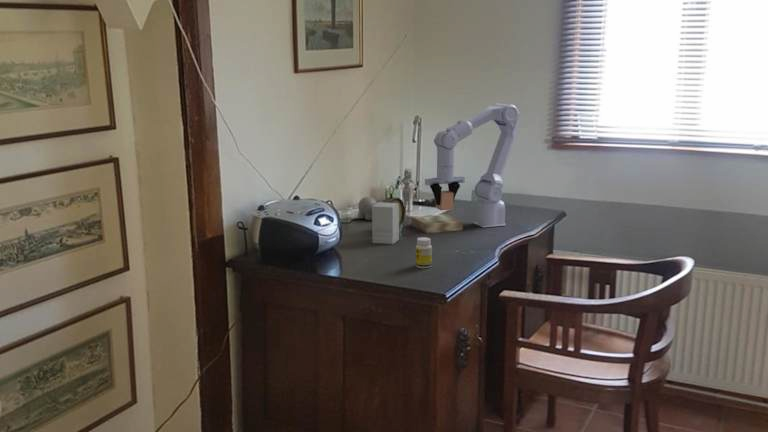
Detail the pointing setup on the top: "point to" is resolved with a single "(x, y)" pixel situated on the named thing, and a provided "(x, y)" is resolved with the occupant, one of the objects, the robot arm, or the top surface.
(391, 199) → the alarm clock
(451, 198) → the block
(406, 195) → the human figurine
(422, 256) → the supplement bottle
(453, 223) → the plinth
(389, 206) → the supplement box
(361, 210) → the chubby cartoon animal
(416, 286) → the top surface
